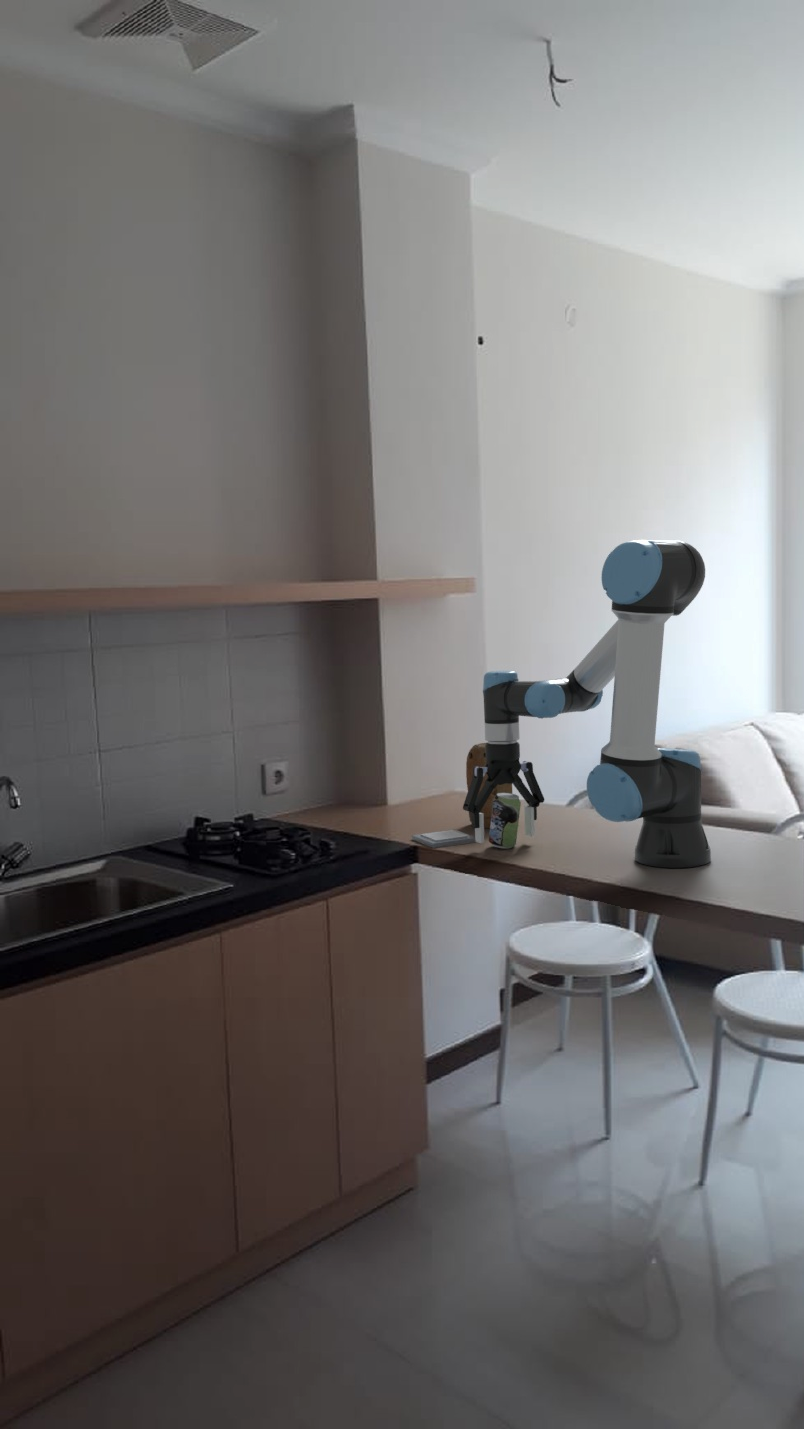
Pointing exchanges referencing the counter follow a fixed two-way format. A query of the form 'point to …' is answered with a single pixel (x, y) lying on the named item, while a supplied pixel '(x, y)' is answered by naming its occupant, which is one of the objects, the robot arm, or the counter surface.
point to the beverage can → (504, 820)
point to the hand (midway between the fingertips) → (505, 838)
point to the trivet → (443, 838)
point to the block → (479, 760)
